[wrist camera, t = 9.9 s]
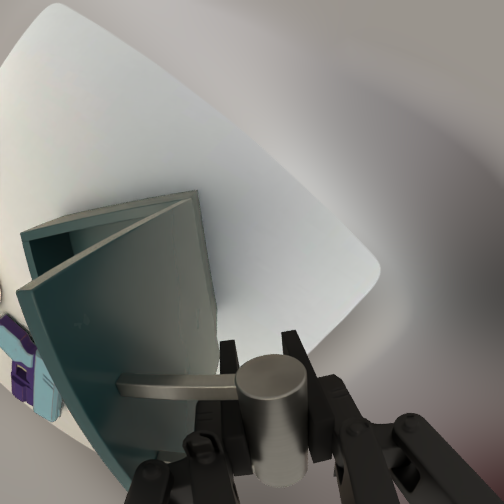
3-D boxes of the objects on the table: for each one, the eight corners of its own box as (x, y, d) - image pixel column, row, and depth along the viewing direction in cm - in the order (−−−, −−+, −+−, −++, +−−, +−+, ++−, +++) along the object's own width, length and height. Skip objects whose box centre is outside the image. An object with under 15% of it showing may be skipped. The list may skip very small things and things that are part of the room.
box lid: (165, 532, 11) (309, 537, 10) (14, 291, 6) (312, 267, 6) (212, 355, 29) (292, 349, 28) (183, 199, 24) (277, 187, 24)
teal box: (91, 322, 37) (63, 362, 28) (62, 216, 33) (19, 232, 24) (217, 308, 39) (216, 352, 29) (197, 189, 34) (188, 198, 25)
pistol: (1, 306, 36) (73, 352, 38) (0, 370, 39) (64, 410, 41) (-13, 317, 32) (62, 367, 34) (-10, 382, 35) (56, 425, 37)
